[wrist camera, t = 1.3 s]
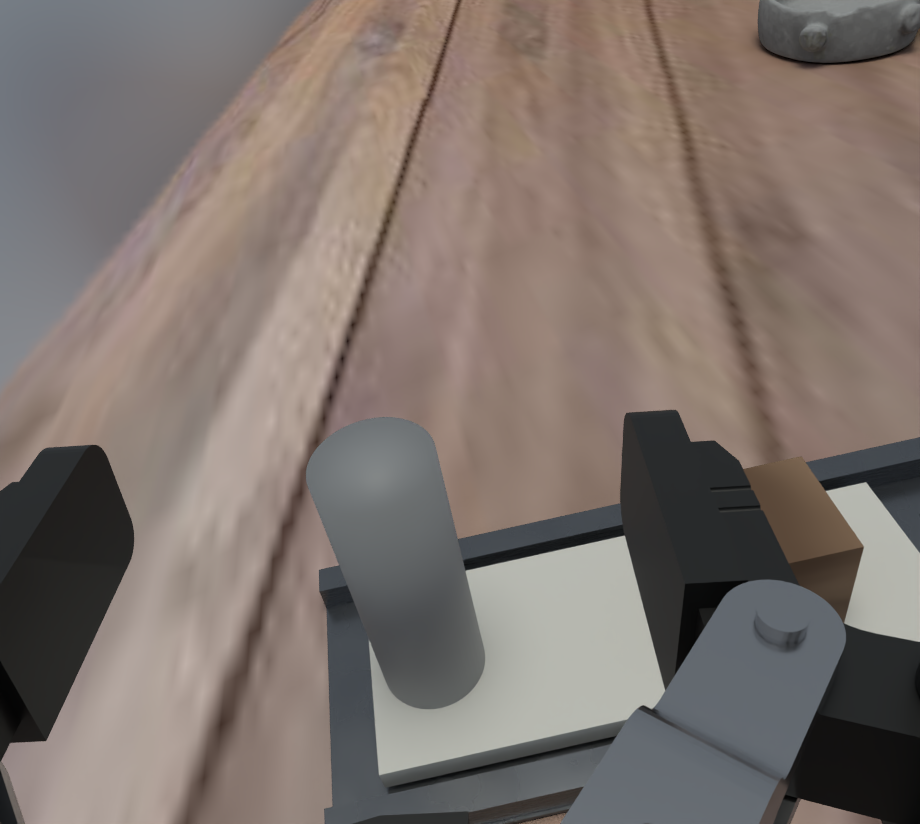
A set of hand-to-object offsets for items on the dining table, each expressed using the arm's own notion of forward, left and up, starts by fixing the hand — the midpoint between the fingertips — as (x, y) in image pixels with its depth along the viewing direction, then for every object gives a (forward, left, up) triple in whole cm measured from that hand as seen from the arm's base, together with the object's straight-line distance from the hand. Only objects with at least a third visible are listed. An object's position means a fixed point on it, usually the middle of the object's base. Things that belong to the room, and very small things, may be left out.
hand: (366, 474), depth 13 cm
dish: (-44, -66, -21) cm, 82 cm away
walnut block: (-12, -9, -19) cm, 24 cm away
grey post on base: (-7, -9, -20) cm, 23 cm away
